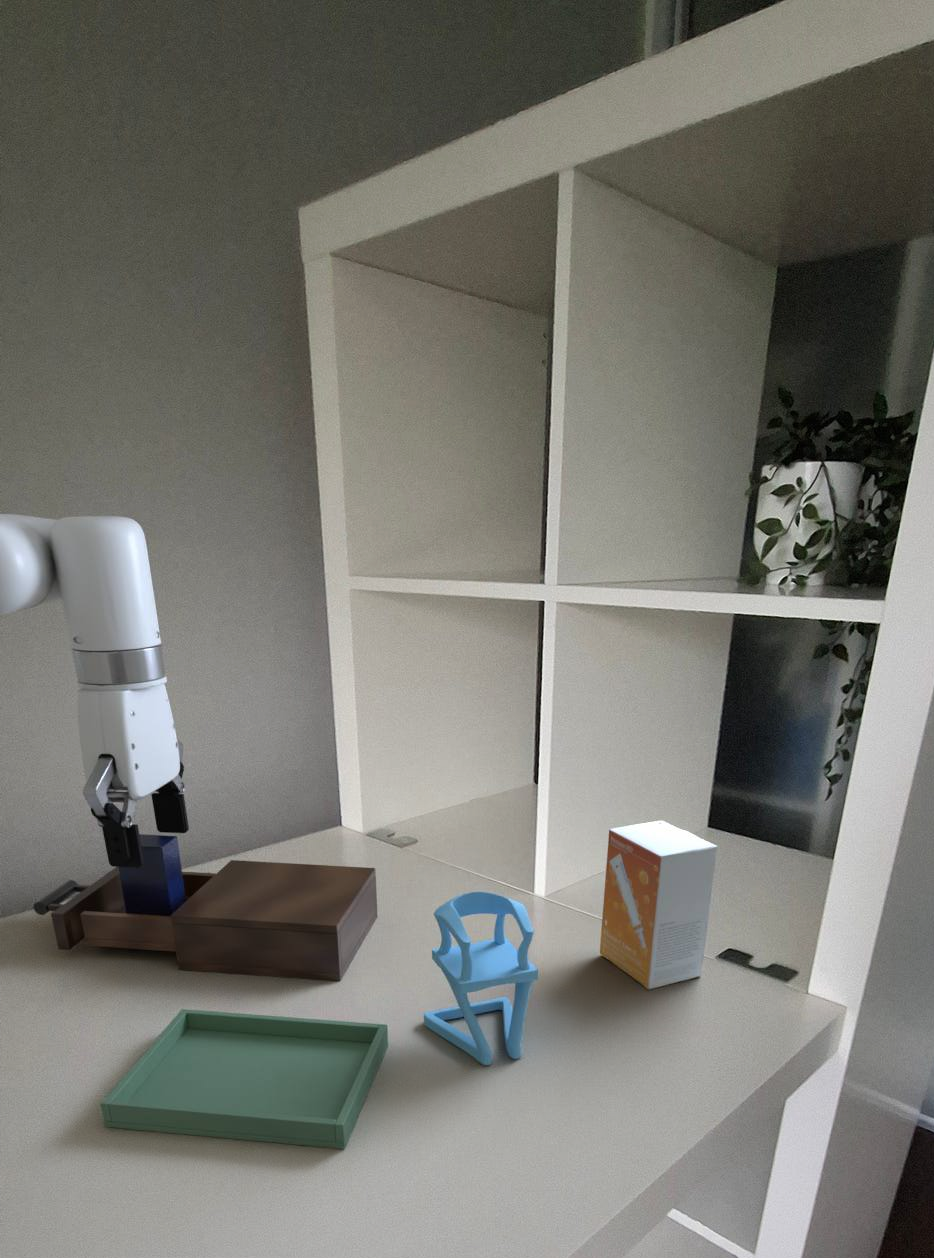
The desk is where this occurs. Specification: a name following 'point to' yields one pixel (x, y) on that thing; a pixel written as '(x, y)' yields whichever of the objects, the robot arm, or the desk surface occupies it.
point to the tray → (251, 1079)
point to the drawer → (109, 915)
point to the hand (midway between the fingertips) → (151, 848)
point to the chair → (482, 972)
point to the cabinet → (277, 920)
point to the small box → (657, 902)
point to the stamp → (154, 878)
